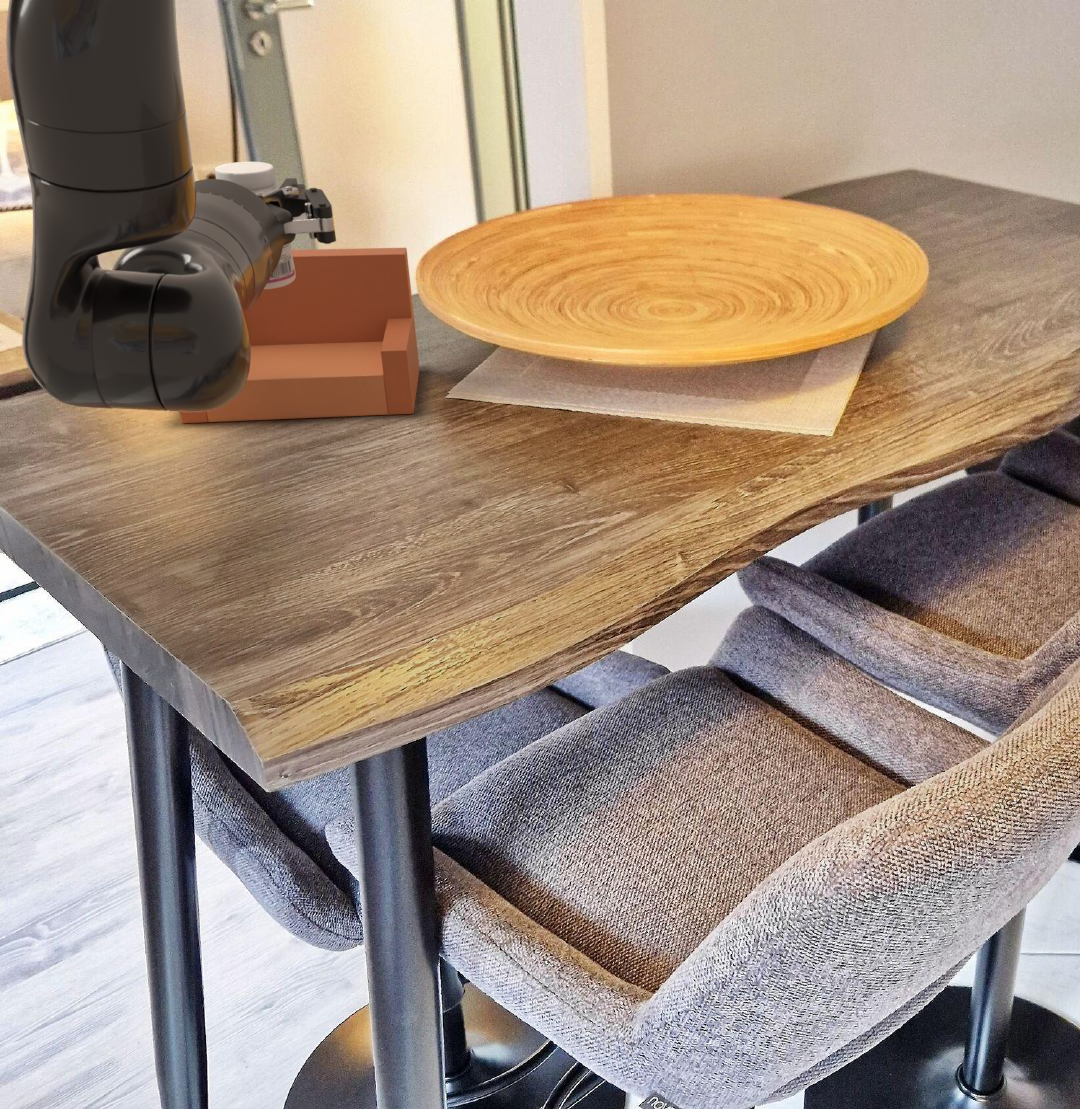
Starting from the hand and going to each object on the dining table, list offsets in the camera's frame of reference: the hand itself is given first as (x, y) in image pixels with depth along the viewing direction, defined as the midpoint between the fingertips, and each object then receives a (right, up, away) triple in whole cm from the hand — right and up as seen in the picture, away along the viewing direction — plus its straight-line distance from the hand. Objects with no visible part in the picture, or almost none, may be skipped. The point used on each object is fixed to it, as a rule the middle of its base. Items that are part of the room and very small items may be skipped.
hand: (256, 192), depth 92 cm
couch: (0, -14, +12) cm, 18 cm away
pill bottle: (0, -7, +1) cm, 7 cm away
